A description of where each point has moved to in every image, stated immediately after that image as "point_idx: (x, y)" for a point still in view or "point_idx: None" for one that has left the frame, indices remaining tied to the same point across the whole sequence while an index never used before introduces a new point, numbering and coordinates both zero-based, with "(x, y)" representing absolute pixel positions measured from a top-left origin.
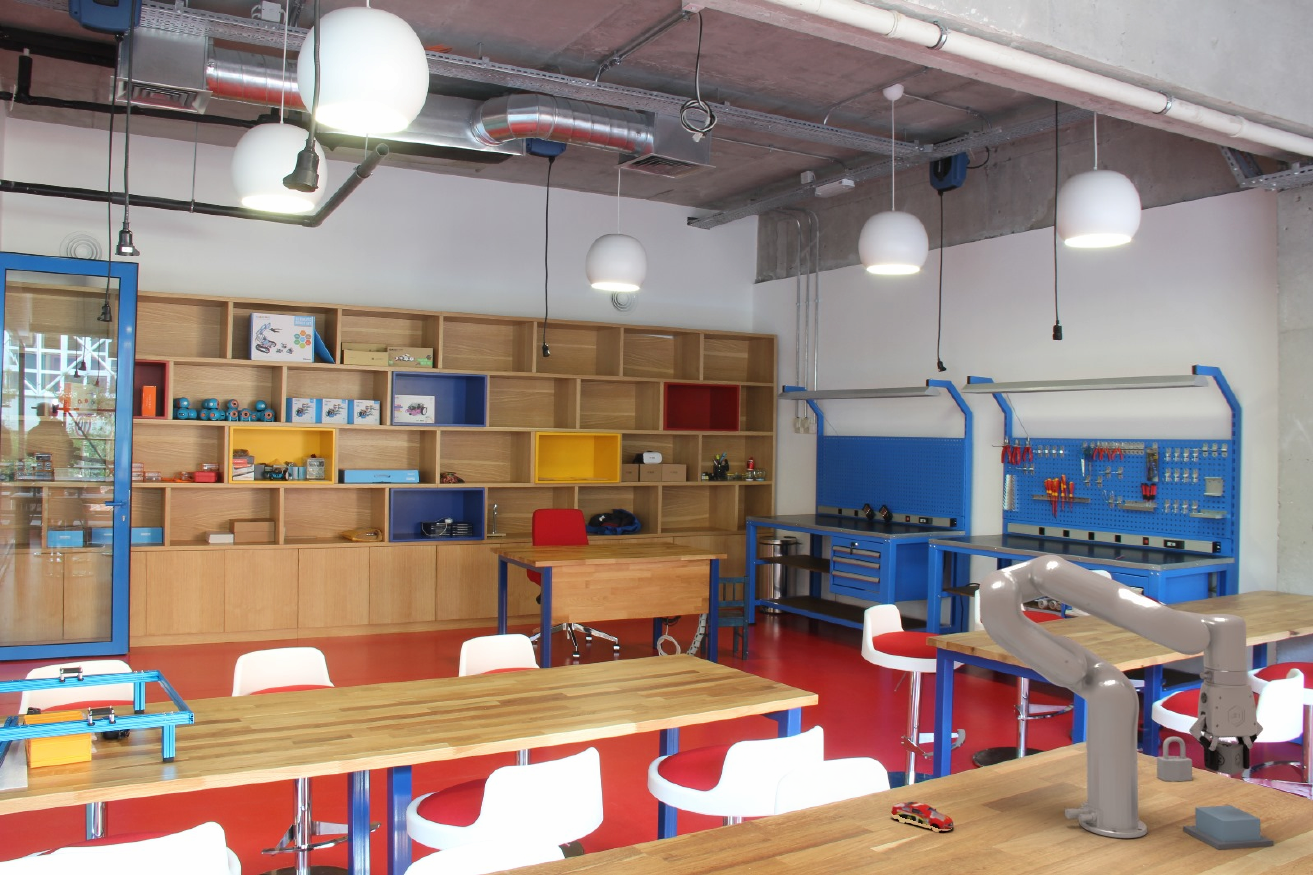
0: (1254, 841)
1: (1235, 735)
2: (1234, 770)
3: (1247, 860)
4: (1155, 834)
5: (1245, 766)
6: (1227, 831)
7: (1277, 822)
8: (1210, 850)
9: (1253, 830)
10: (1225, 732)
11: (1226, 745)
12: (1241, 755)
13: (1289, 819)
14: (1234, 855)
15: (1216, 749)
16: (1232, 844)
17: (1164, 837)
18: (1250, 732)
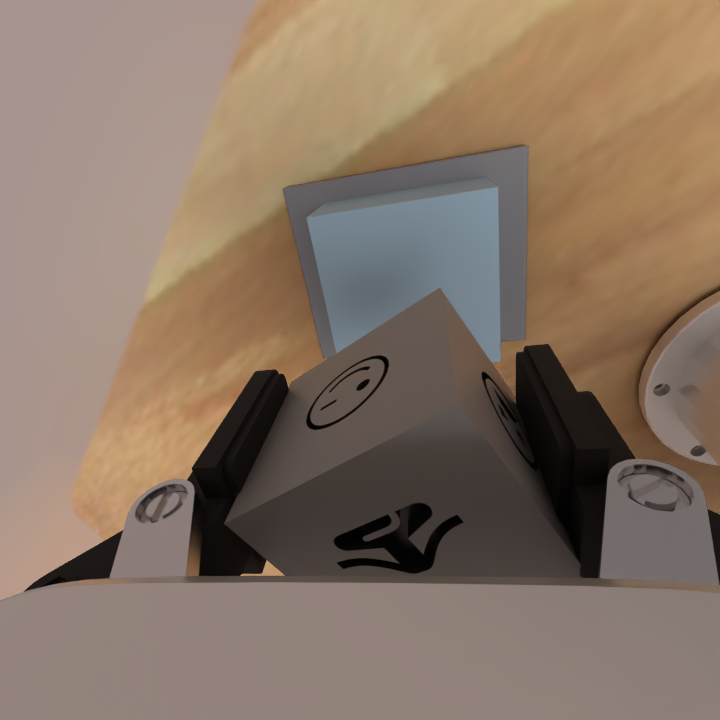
0: (358, 181)
1: (367, 590)
2: (405, 320)
3: (481, 12)
4: (646, 310)
5: (279, 381)
6: (471, 183)
7: (184, 383)
8: (559, 140)
9: (348, 203)
10: (649, 684)
11: (389, 545)
12: (282, 439)
13: (143, 401)
14: (498, 79)
15: (539, 496)
16: (460, 157)
17: (636, 281)
18: (40, 629)
